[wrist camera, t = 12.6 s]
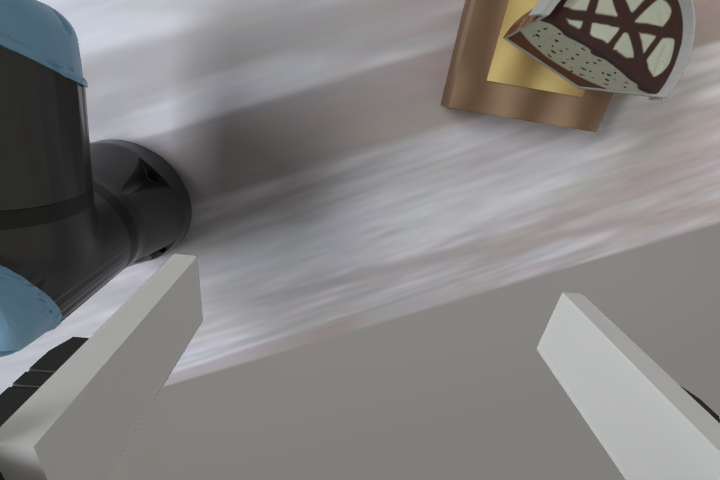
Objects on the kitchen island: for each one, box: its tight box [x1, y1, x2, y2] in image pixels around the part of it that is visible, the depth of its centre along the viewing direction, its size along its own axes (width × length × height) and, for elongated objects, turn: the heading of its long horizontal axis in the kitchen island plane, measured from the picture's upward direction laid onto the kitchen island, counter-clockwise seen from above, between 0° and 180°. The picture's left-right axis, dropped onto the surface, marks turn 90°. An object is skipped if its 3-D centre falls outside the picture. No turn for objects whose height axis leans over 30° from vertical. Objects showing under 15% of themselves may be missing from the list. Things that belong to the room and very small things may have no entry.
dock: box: [441, 0, 613, 132], centre depth 33 cm, size 16×18×4 cm
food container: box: [503, 0, 695, 100], centre depth 27 cm, size 12×6×10 cm, turn 62°
